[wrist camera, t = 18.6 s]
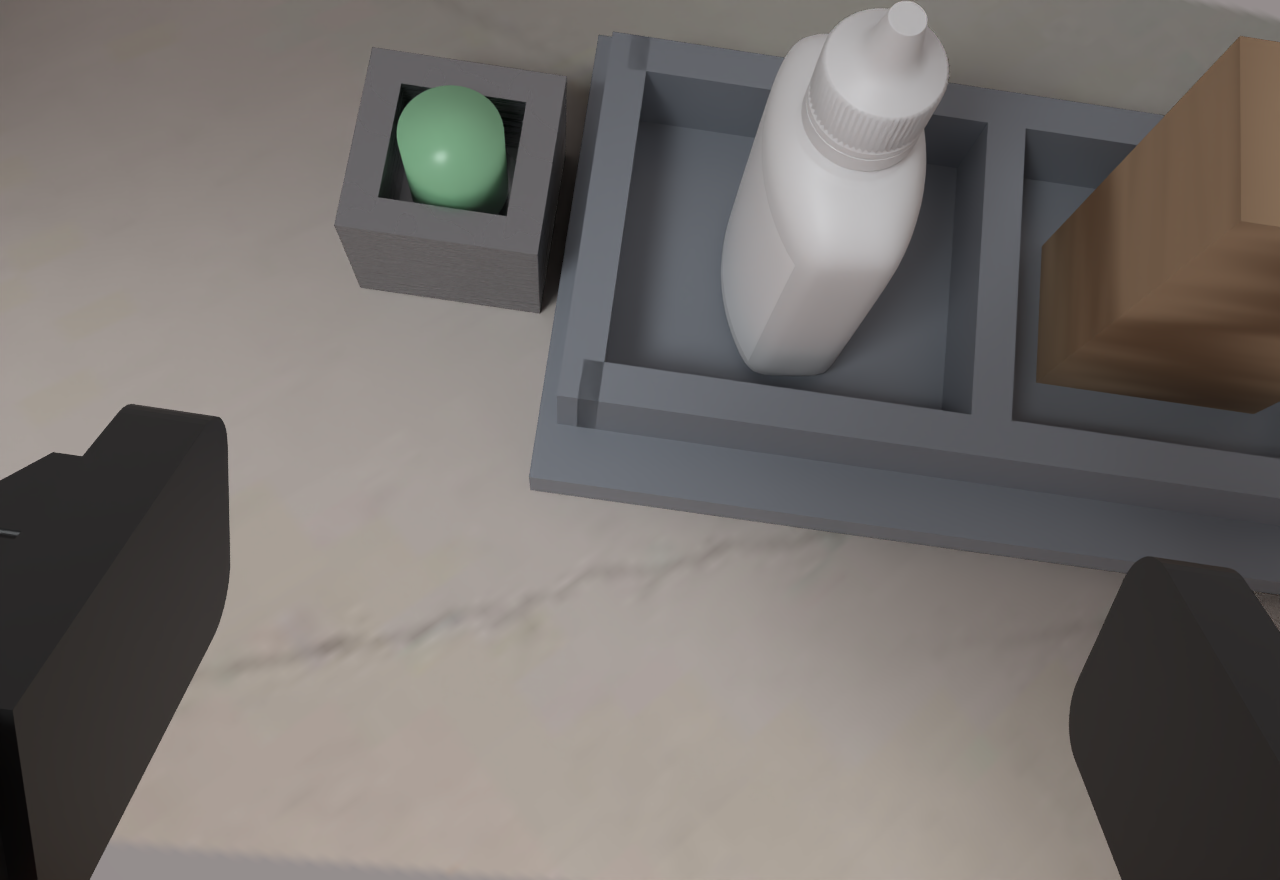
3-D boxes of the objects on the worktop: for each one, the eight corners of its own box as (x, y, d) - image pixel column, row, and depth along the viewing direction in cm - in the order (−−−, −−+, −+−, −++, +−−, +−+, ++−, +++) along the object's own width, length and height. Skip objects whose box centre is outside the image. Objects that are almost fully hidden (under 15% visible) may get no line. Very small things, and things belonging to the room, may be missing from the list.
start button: (402, 222, 32) (387, 172, 29) (419, 134, 32) (406, 77, 30) (500, 237, 32) (495, 188, 29) (515, 149, 32) (511, 93, 30)
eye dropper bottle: (662, 329, 32) (722, 83, 20) (758, 164, 33) (865, -154, 22) (807, 408, 31) (953, 204, 20) (898, 237, 33) (1083, -45, 21)
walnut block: (1035, 382, 32) (1241, 220, 22) (1041, 245, 33) (1239, 36, 24) (1254, 414, 32) (1550, 267, 23) (1253, 277, 33) (1535, 81, 24)
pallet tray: (530, 489, 32) (526, 452, 28) (597, 64, 35) (601, -21, 32) (1331, 601, 33) (1435, 581, 29) (1321, 173, 36) (1412, 103, 32)
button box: (360, 287, 33) (334, 225, 29) (393, 126, 34) (372, 47, 31) (539, 313, 33) (537, 254, 29) (565, 152, 35) (566, 75, 31)
